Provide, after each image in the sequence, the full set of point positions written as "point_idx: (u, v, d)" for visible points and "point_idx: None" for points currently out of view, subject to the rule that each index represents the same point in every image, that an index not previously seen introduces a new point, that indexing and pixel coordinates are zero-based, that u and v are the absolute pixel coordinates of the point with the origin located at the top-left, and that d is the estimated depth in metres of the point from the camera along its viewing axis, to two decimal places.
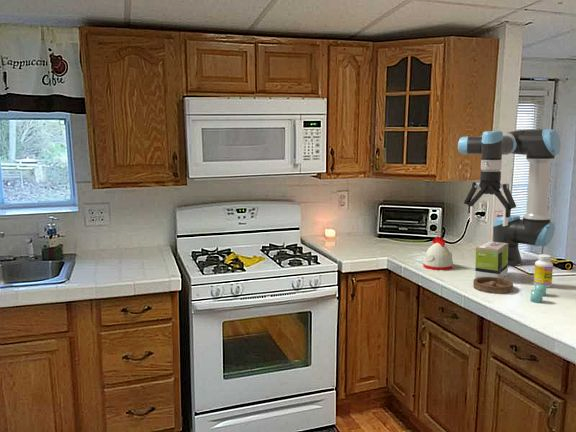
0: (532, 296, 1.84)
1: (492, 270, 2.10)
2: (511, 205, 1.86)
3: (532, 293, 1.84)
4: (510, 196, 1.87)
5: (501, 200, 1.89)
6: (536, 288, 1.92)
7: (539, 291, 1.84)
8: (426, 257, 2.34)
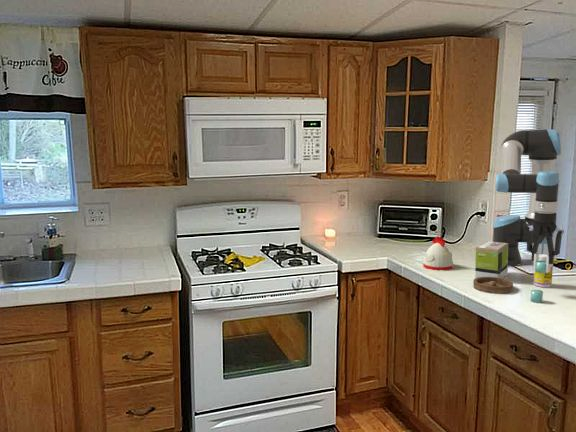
0: (532, 296, 1.84)
1: (492, 270, 2.10)
2: (556, 252, 1.85)
3: (532, 293, 1.84)
4: (559, 244, 1.85)
5: (549, 245, 1.87)
6: (537, 265, 1.90)
7: (539, 291, 1.84)
8: (426, 257, 2.34)
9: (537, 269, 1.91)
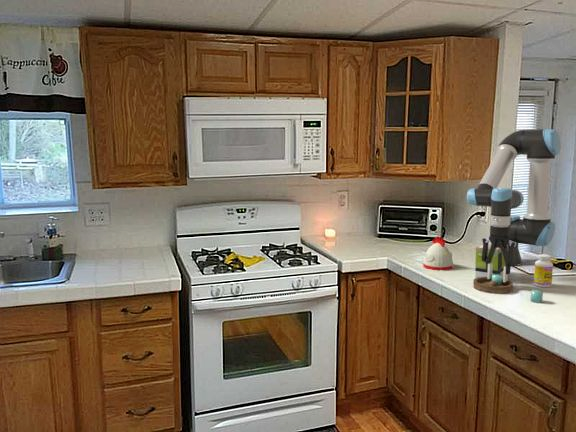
0: (532, 296, 1.84)
1: (492, 270, 2.10)
2: (511, 263, 1.98)
3: (532, 293, 1.84)
4: (514, 255, 1.97)
5: (504, 256, 1.99)
6: (493, 278, 2.03)
7: (539, 291, 1.84)
8: (426, 257, 2.34)
9: None
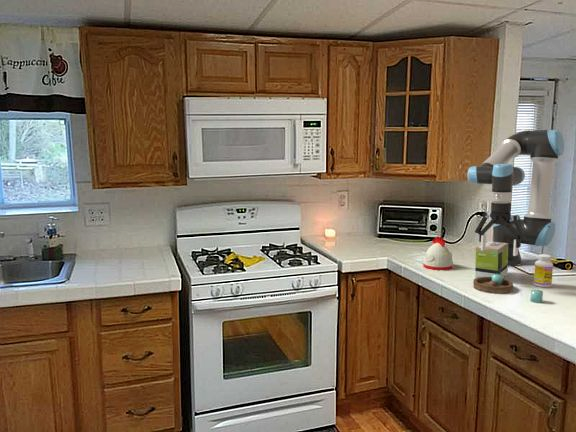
0: (532, 296, 1.84)
1: (492, 270, 2.10)
2: (521, 236, 1.93)
3: (532, 293, 1.84)
4: (520, 228, 1.94)
5: (511, 231, 1.96)
6: (493, 278, 2.03)
7: (539, 291, 1.84)
8: (426, 257, 2.34)
9: None
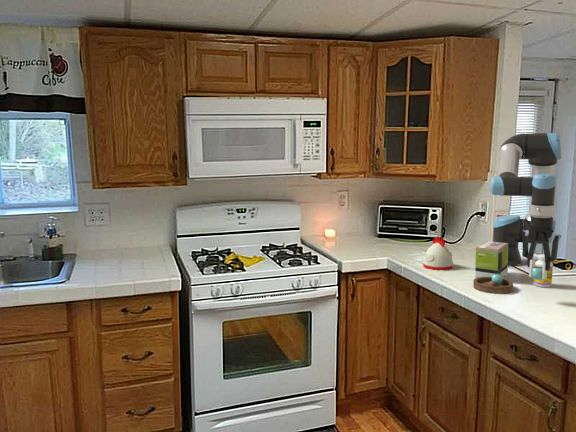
0: (533, 273, 1.83)
1: (492, 270, 2.10)
2: (552, 258, 1.78)
3: (533, 270, 1.83)
4: (556, 249, 1.77)
5: (545, 251, 1.79)
6: (493, 278, 2.03)
7: (540, 268, 1.83)
8: (426, 257, 2.34)
9: None
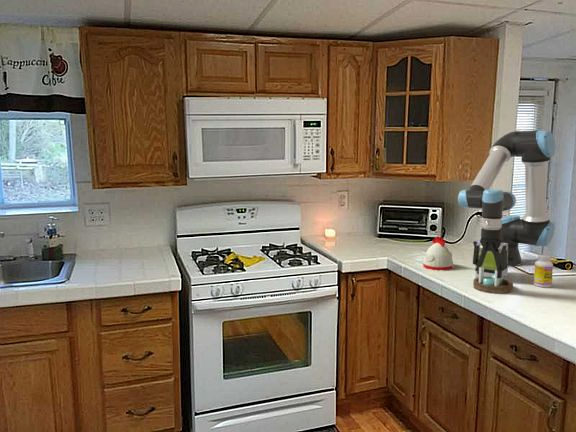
0: (484, 283, 1.98)
1: (492, 270, 2.10)
2: (503, 267, 1.92)
3: (484, 280, 1.98)
4: (505, 258, 1.92)
5: (496, 260, 1.94)
6: (493, 278, 2.03)
7: (490, 279, 1.98)
8: (426, 257, 2.34)
9: None
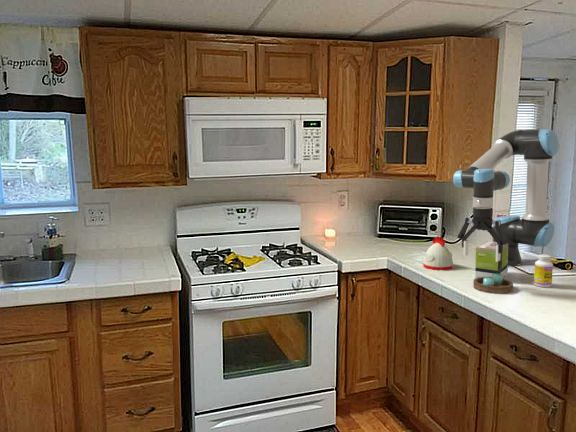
0: (484, 283, 1.98)
1: (492, 270, 2.10)
2: (503, 242, 1.92)
3: (484, 280, 1.98)
4: (502, 233, 1.92)
5: (493, 236, 1.94)
6: (493, 278, 2.03)
7: (491, 279, 1.98)
8: (426, 257, 2.34)
9: None
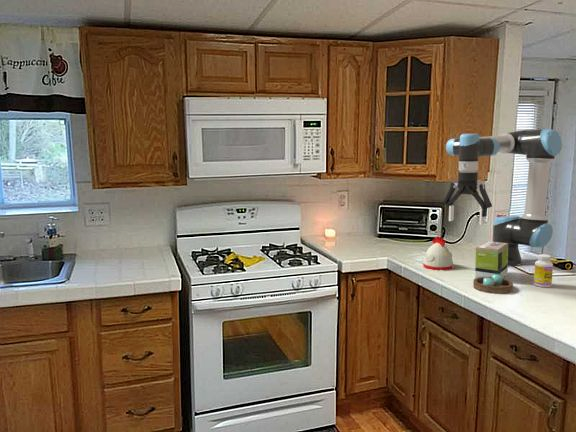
0: (484, 283, 1.98)
1: (492, 270, 2.10)
2: (487, 205, 1.94)
3: (484, 280, 1.98)
4: (486, 196, 1.95)
5: (478, 200, 1.97)
6: (493, 278, 2.03)
7: (491, 279, 1.98)
8: (426, 257, 2.34)
9: None
